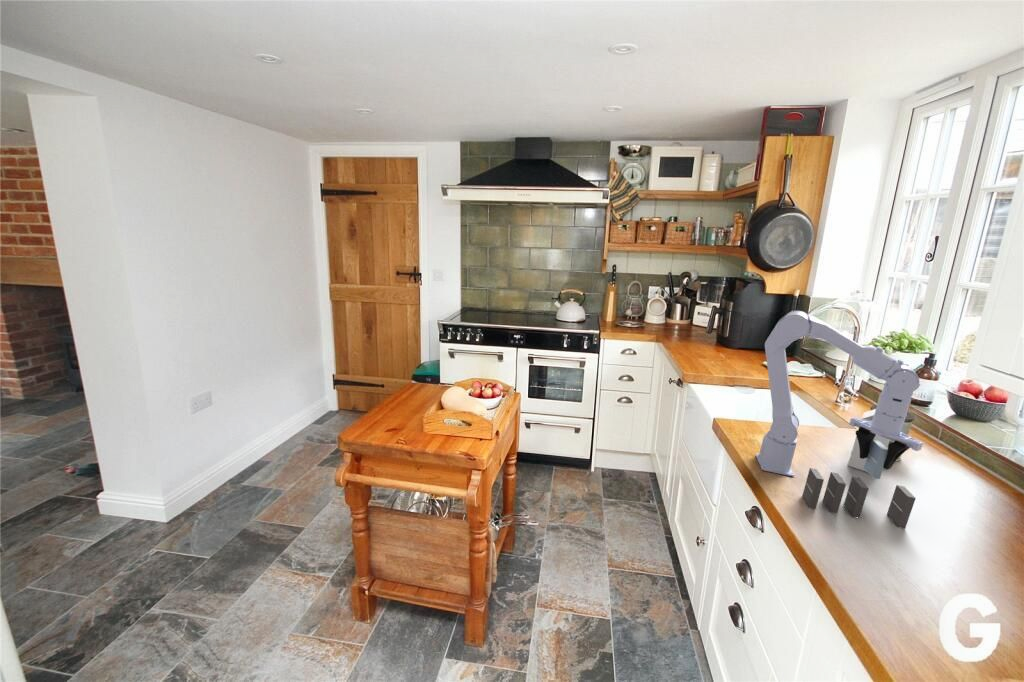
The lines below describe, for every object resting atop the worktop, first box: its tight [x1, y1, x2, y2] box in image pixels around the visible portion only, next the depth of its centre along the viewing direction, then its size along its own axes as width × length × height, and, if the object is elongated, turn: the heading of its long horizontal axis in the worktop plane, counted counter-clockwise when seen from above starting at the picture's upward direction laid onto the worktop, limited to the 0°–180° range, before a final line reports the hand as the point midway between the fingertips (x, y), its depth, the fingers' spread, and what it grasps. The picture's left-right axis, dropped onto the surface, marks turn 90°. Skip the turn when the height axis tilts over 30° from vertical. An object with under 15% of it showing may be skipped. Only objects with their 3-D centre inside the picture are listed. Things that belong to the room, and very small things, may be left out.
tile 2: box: [822, 472, 847, 515], centre depth 106 cm, size 2×5×8 cm, turn 162°
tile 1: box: [801, 467, 825, 510], centre depth 108 cm, size 2×5×8 cm, turn 163°
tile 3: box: [843, 475, 869, 519], centre depth 105 cm, size 2×5×8 cm, turn 162°
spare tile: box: [864, 440, 888, 480], centre depth 111 cm, size 2×5×8 cm, turn 162°
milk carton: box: [847, 409, 890, 473], centre depth 126 cm, size 7×7×19 cm
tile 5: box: [886, 484, 916, 529], centre depth 103 cm, size 2×5×8 cm, turn 162°
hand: (874, 462), depth 111 cm, fingers closed on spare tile, 5 cm apart
